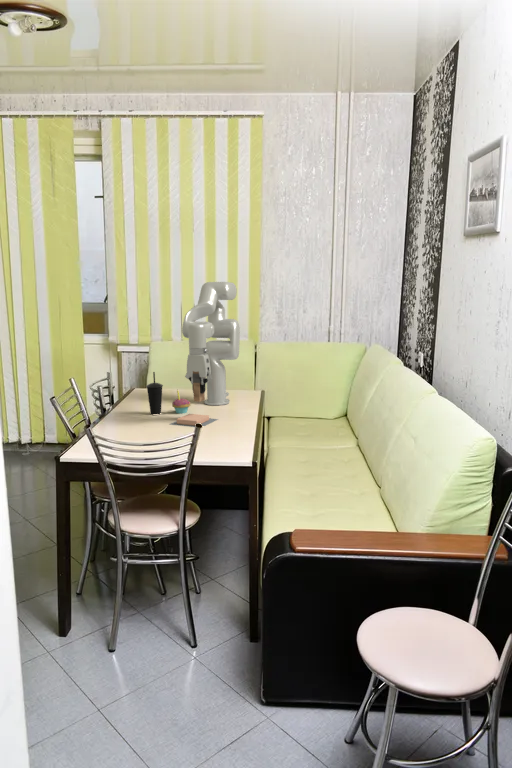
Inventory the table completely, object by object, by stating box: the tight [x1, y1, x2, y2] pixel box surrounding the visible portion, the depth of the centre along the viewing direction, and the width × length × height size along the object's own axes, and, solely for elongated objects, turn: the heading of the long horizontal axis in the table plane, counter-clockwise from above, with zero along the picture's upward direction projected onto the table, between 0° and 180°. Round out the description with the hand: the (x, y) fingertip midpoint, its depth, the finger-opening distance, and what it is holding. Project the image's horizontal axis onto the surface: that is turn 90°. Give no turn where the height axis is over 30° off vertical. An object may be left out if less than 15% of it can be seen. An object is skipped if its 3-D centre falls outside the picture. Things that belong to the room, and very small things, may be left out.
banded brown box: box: [192, 371, 206, 403], centre depth 275 cm, size 5×3×14 cm
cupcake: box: [171, 389, 191, 414], centre depth 291 cm, size 9×8×12 cm
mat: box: [168, 417, 219, 428], centre depth 274 cm, size 16×16×1 cm
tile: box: [176, 413, 210, 426], centre depth 273 cm, size 2×10×11 cm
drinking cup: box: [145, 371, 164, 415], centre depth 291 cm, size 8×8×20 cm
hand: (199, 392), depth 276 cm, fingers closed on banded brown box, 3 cm apart
